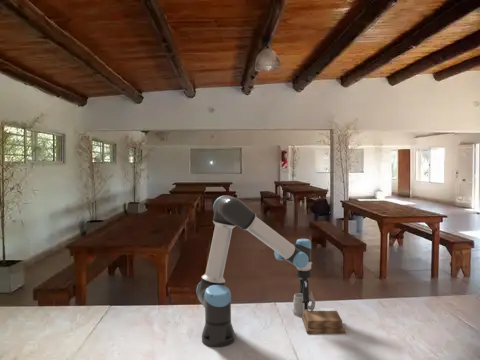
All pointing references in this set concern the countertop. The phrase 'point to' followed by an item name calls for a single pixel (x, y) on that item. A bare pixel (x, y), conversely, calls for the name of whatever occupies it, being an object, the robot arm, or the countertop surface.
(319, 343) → the countertop surface
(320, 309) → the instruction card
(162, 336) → the countertop surface
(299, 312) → the mug
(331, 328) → the plinth
